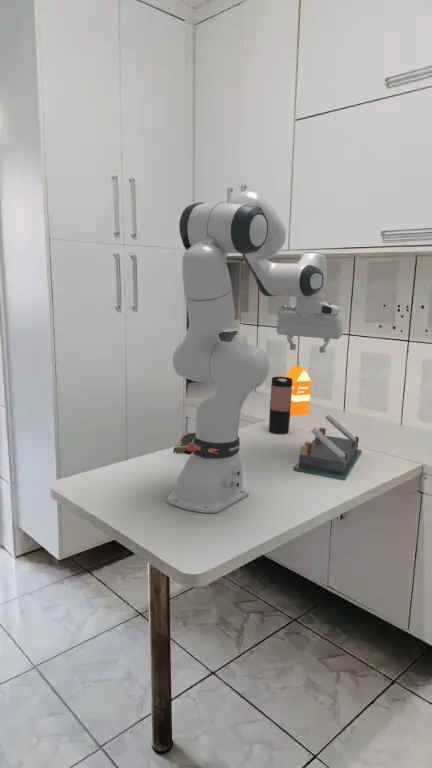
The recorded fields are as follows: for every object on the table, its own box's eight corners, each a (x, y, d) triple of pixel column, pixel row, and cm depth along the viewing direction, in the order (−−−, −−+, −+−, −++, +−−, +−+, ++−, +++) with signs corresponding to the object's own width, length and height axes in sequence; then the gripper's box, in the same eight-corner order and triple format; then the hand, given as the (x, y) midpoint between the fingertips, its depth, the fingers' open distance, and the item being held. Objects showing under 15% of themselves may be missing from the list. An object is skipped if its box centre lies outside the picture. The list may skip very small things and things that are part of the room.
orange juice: (293, 415, 217) (296, 368, 213) (281, 410, 225) (284, 365, 221) (308, 414, 221) (312, 367, 217) (296, 409, 229) (299, 364, 225)
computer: (182, 439, 180) (182, 430, 179) (205, 441, 179) (205, 432, 178) (173, 454, 165) (173, 444, 164) (198, 456, 164) (198, 446, 163)
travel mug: (277, 427, 198) (280, 375, 195) (293, 432, 193) (297, 379, 189) (264, 430, 193) (267, 377, 189) (280, 435, 188) (284, 381, 184)
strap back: (353, 443, 166) (355, 441, 166) (325, 418, 169) (326, 416, 169) (355, 440, 169) (357, 439, 169) (327, 416, 172) (328, 414, 171)
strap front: (342, 459, 150) (344, 457, 150) (310, 431, 153) (312, 429, 153) (344, 456, 153) (346, 454, 153) (313, 428, 156) (315, 427, 155)
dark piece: (344, 480, 147) (346, 456, 146) (293, 470, 153) (295, 447, 152) (361, 452, 172) (363, 432, 171) (316, 445, 178) (318, 425, 177)
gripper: (274, 305, 162) (272, 349, 165) (340, 309, 154) (337, 355, 157) (280, 304, 168) (278, 346, 171) (345, 307, 159) (341, 352, 163)
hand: (307, 351), depth 164 cm, fingers open, 8 cm apart
